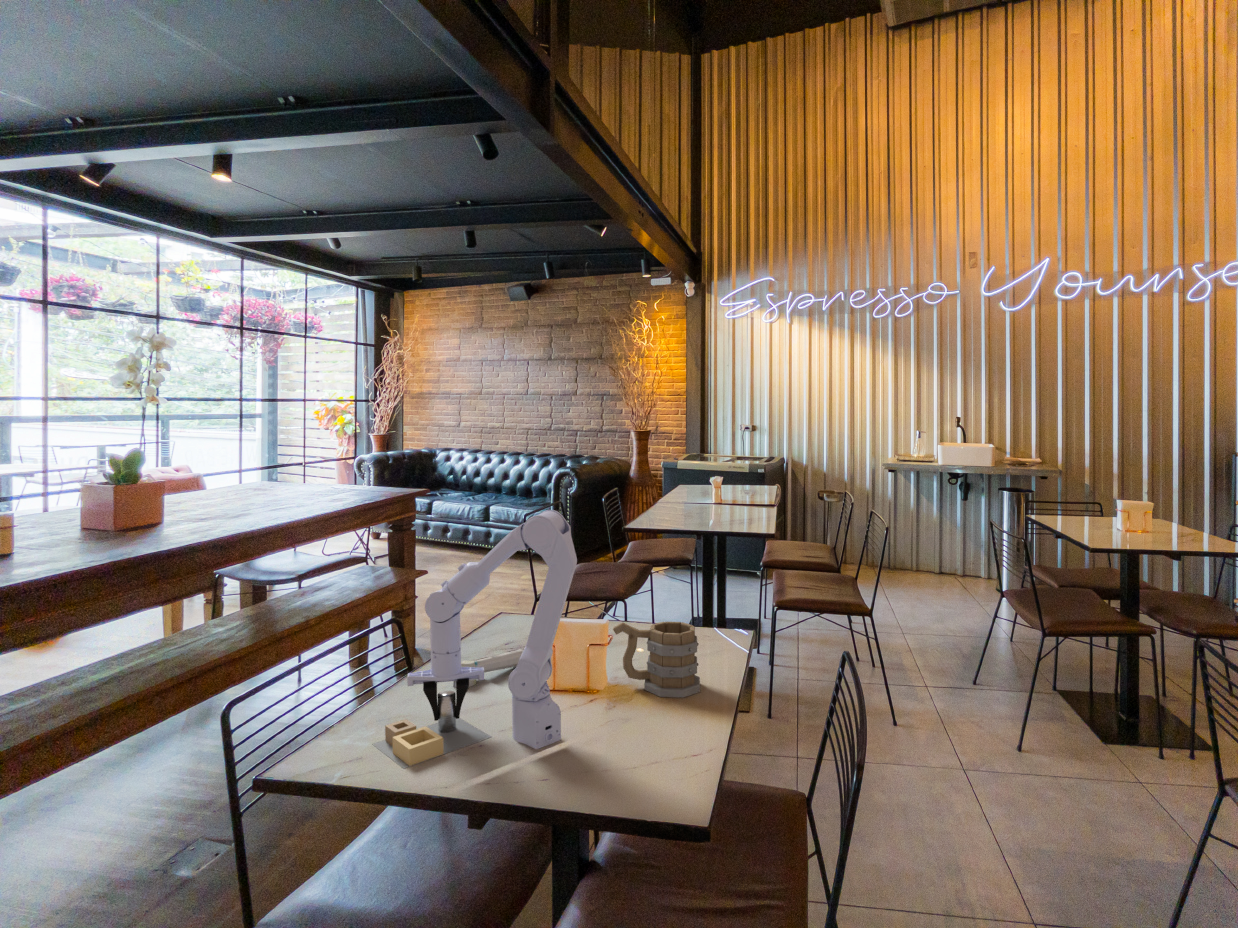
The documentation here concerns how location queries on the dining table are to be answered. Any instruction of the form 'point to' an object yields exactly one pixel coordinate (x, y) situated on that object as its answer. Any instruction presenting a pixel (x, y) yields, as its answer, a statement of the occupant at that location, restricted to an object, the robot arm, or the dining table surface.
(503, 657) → the toothbrush head
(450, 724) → the metal round peg
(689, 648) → the tankard
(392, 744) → the fitting board
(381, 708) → the dining table surface
